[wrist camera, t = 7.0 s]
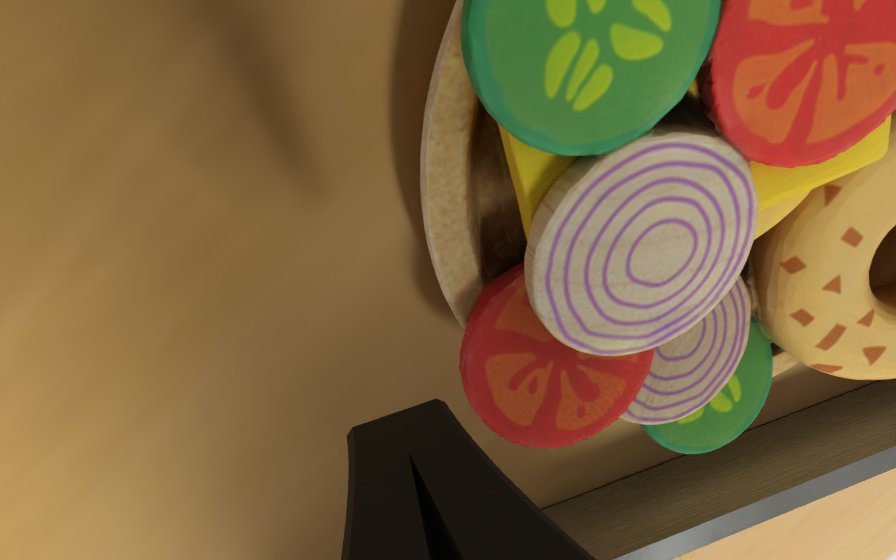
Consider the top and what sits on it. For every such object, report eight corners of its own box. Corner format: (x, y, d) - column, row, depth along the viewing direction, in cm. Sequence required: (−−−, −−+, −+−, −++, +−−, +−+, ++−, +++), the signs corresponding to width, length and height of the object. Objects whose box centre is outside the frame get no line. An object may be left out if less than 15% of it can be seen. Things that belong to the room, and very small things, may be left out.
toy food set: (936, 266, 18) (1062, 333, 15) (492, 472, 17) (545, 584, 14) (1051, -407, 10) (1343, -507, 8) (255, -112, 9) (272, -108, 7)
